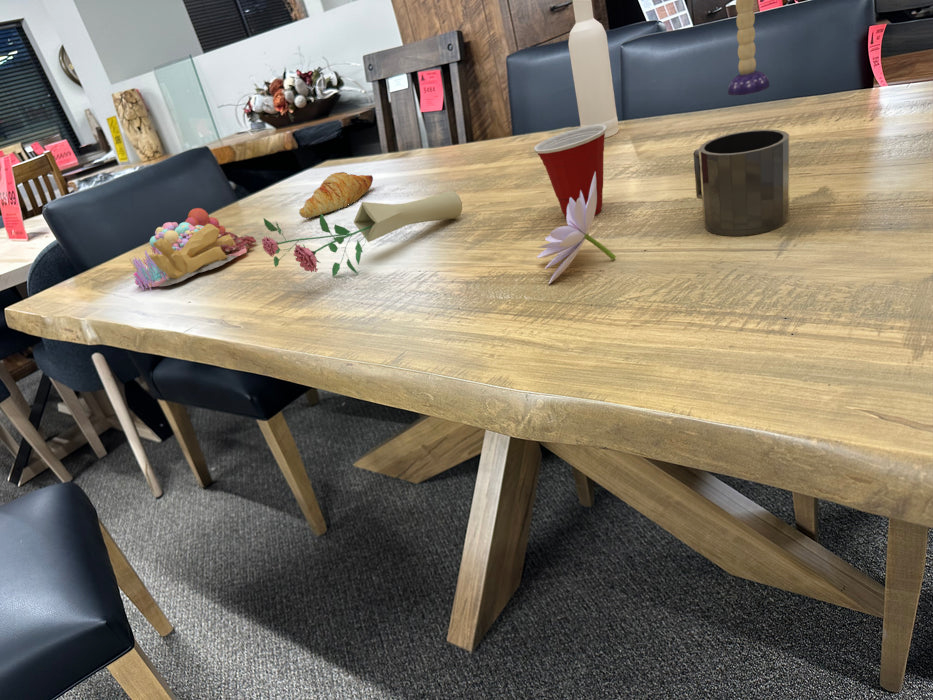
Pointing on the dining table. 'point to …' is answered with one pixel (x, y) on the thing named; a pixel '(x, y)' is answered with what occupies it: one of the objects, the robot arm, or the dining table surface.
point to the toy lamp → (747, 54)
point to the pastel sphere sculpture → (188, 250)
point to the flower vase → (372, 226)
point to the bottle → (592, 70)
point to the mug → (744, 182)
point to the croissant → (336, 193)
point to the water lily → (573, 232)
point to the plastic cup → (574, 163)
